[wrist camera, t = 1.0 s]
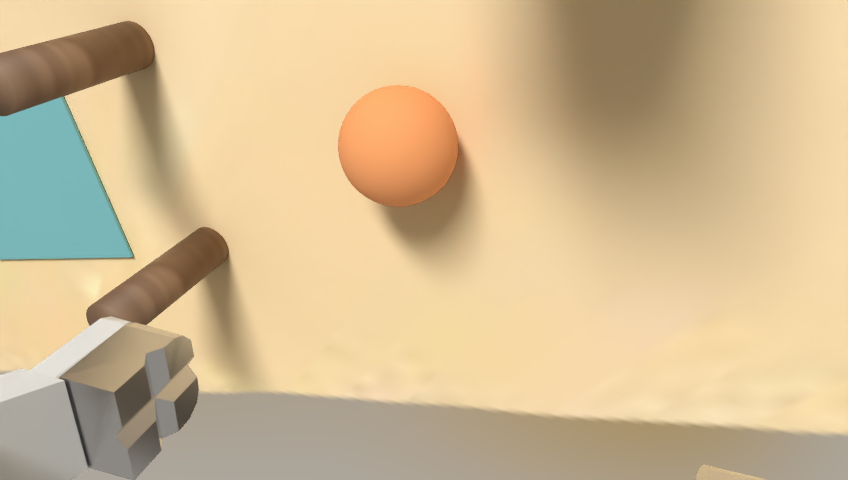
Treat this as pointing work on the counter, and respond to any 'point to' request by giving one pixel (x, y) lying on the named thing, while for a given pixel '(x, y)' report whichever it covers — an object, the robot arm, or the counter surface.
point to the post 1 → (71, 64)
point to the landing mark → (52, 190)
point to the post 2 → (163, 279)
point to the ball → (398, 146)
